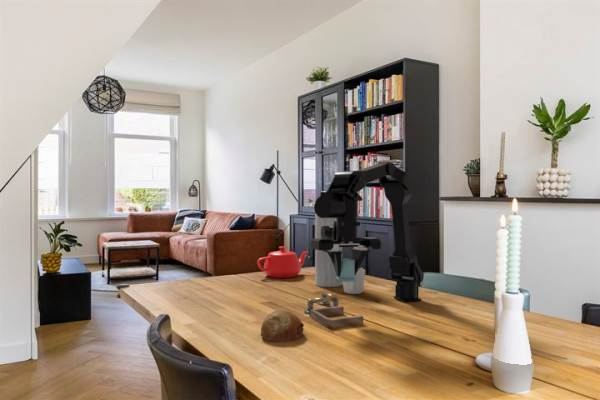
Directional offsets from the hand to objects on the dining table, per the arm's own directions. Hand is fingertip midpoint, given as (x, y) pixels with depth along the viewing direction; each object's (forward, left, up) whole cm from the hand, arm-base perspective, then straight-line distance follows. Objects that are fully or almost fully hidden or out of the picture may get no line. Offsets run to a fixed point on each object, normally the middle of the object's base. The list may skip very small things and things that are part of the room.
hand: (346, 276), depth 122 cm
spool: (0, 0, -1) cm, 1 cm away
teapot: (-7, -68, -12) cm, 70 cm away
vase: (-16, -44, -12) cm, 49 cm away
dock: (+3, 0, -12) cm, 12 cm away
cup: (-17, -27, -12) cm, 34 cm away
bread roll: (+21, +7, -12) cm, 25 cm away
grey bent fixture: (+2, -14, -12) cm, 19 cm away
